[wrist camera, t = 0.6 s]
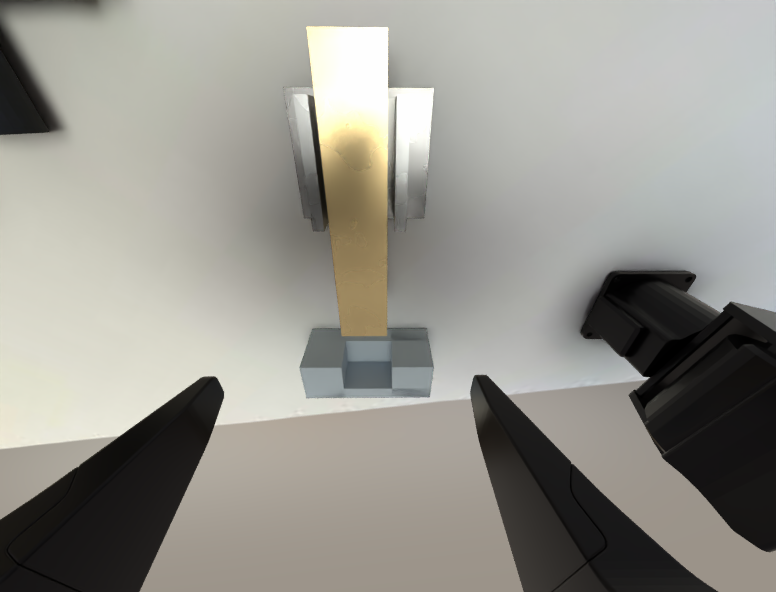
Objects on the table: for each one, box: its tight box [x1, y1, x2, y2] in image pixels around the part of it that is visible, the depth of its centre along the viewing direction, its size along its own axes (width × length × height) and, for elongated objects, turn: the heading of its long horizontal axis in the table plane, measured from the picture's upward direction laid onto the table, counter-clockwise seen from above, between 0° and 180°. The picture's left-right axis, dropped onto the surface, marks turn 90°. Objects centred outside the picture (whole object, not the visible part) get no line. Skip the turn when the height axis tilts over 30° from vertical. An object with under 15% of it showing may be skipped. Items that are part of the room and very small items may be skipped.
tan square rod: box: [307, 27, 388, 336], centre depth 16 cm, size 3×15×3 cm, turn 0°
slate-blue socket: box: [300, 329, 434, 398], centre depth 24 cm, size 10×4×4 cm, turn 90°
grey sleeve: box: [283, 87, 434, 231], centre depth 15 cm, size 8×7×4 cm
